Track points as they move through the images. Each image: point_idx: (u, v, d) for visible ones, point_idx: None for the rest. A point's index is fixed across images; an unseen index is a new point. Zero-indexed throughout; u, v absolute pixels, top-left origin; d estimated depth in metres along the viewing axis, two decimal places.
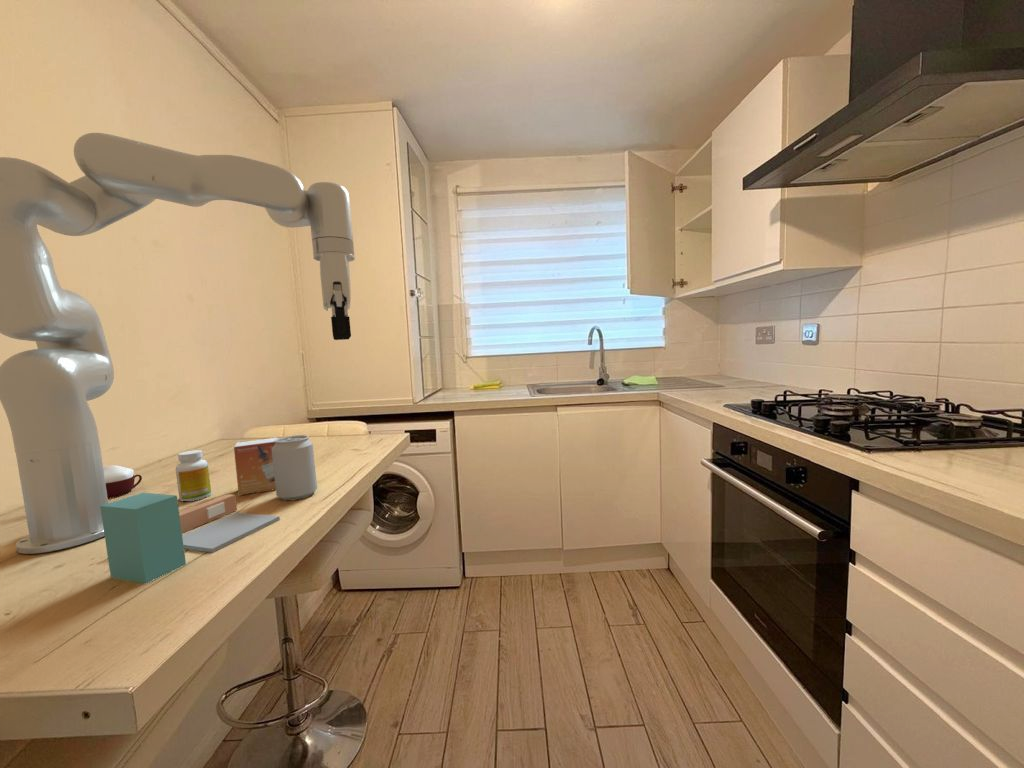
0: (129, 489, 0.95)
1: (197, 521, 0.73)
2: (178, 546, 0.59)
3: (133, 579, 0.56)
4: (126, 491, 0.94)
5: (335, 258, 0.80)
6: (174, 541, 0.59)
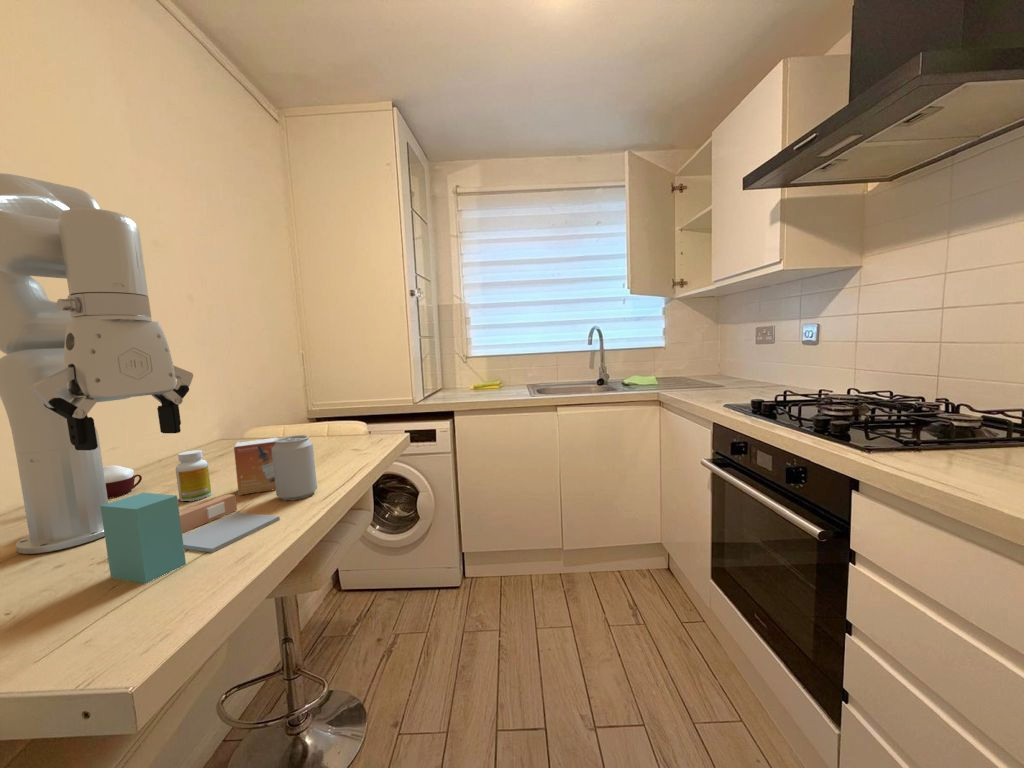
0: (129, 489, 0.95)
1: (197, 521, 0.73)
2: (178, 546, 0.59)
3: (133, 579, 0.56)
4: (126, 491, 0.94)
5: None
6: (174, 541, 0.59)
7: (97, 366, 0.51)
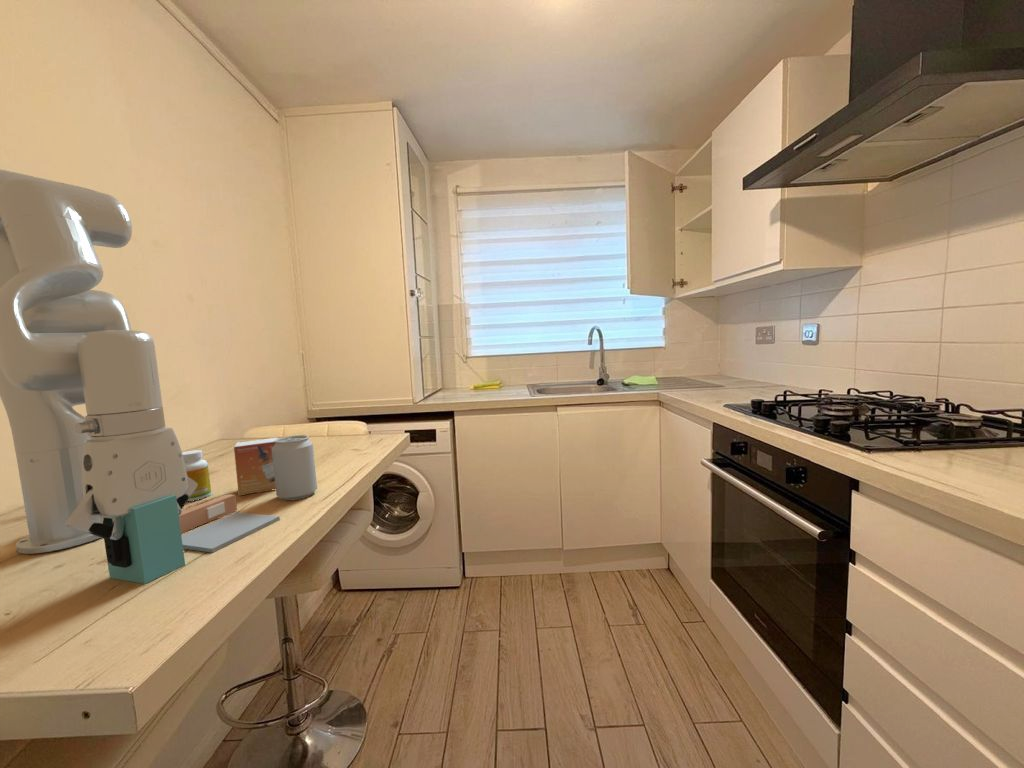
0: None
1: (197, 521, 0.73)
2: (177, 546, 0.59)
3: (132, 579, 0.56)
4: None
5: None
6: (173, 541, 0.58)
7: (114, 486, 0.53)
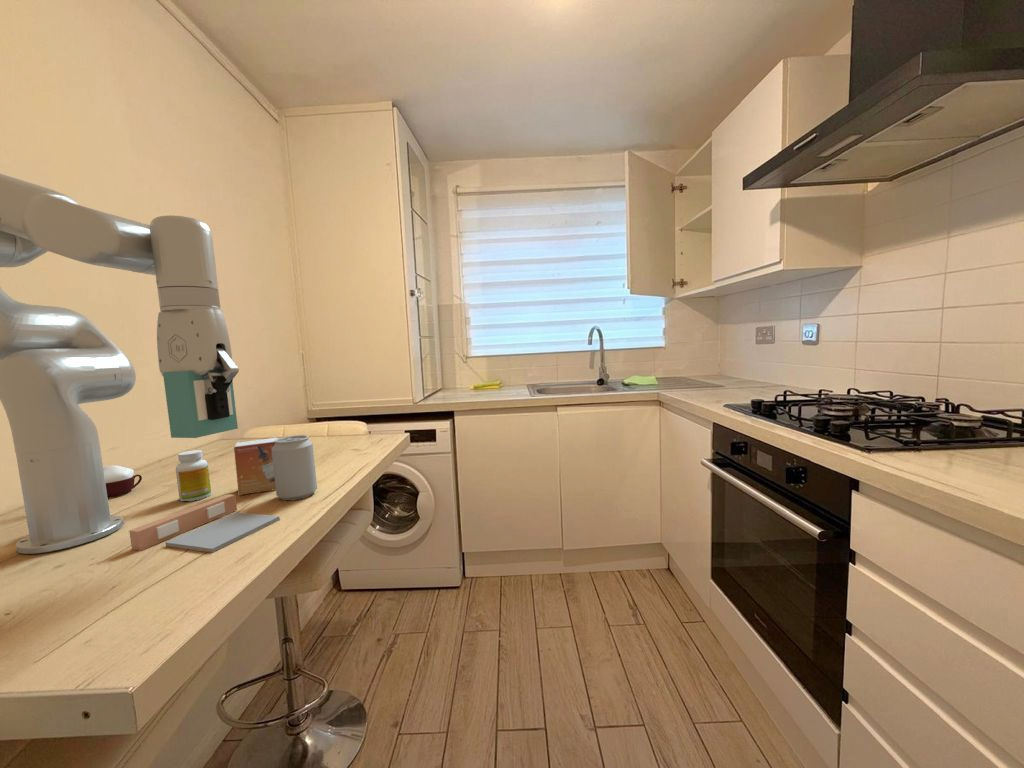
0: (129, 489, 0.95)
1: (197, 521, 0.73)
2: (189, 418, 0.63)
3: None
4: (126, 491, 0.94)
5: (215, 315, 0.65)
6: (187, 412, 0.63)
7: (160, 350, 0.65)
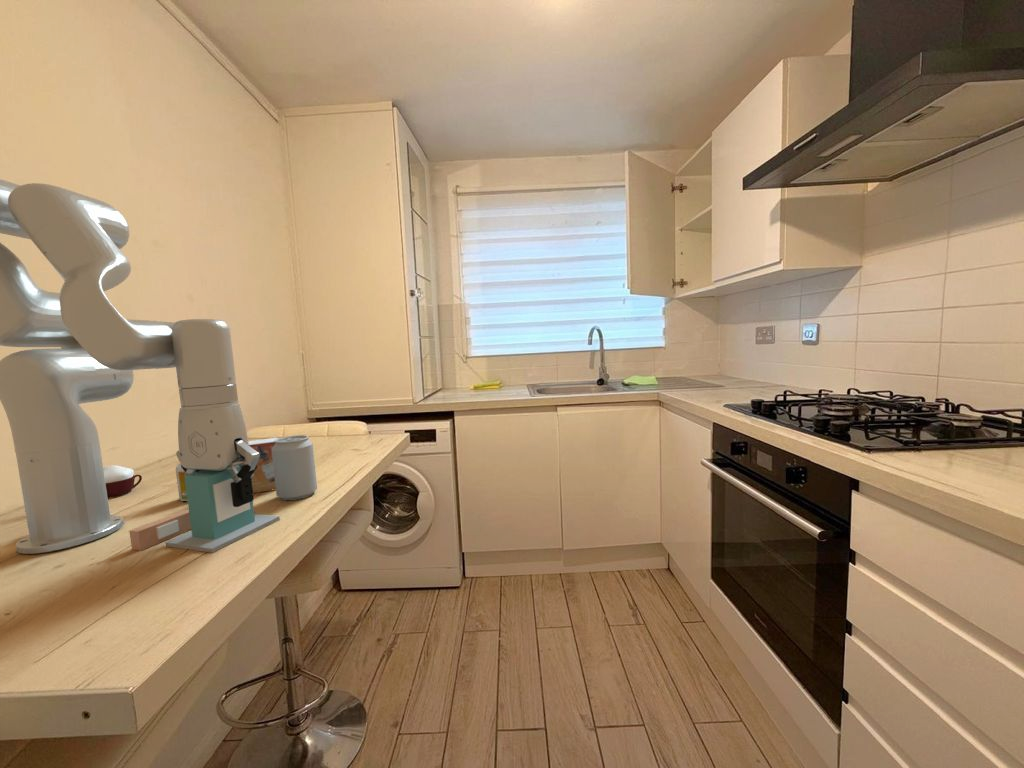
0: (129, 489, 0.95)
1: None
2: (209, 521, 0.66)
3: None
4: (126, 491, 0.94)
5: (233, 411, 0.67)
6: (207, 515, 0.66)
7: (180, 444, 0.68)
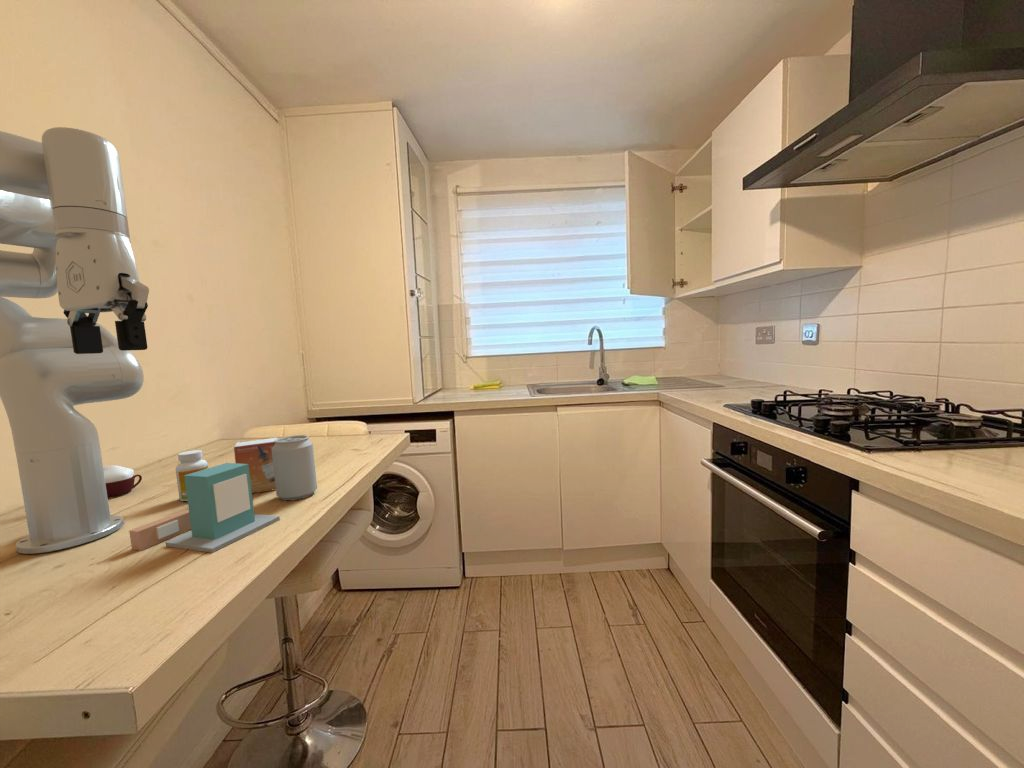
0: (129, 489, 0.95)
1: None
2: (209, 521, 0.66)
3: None
4: (126, 491, 0.94)
5: (118, 241, 0.58)
6: (207, 515, 0.66)
7: (58, 281, 0.59)
